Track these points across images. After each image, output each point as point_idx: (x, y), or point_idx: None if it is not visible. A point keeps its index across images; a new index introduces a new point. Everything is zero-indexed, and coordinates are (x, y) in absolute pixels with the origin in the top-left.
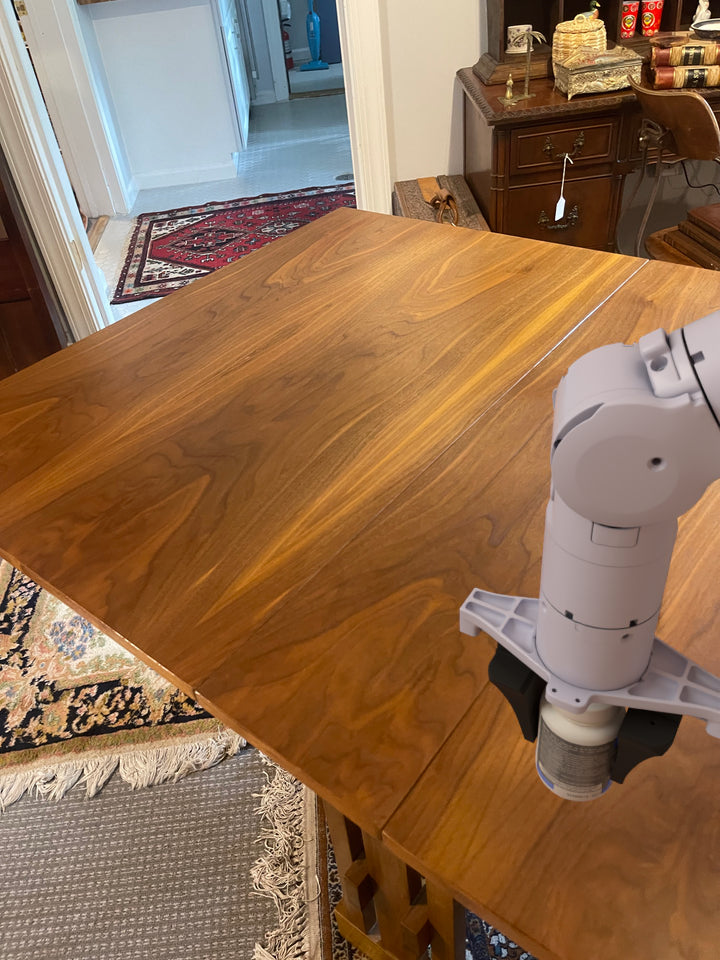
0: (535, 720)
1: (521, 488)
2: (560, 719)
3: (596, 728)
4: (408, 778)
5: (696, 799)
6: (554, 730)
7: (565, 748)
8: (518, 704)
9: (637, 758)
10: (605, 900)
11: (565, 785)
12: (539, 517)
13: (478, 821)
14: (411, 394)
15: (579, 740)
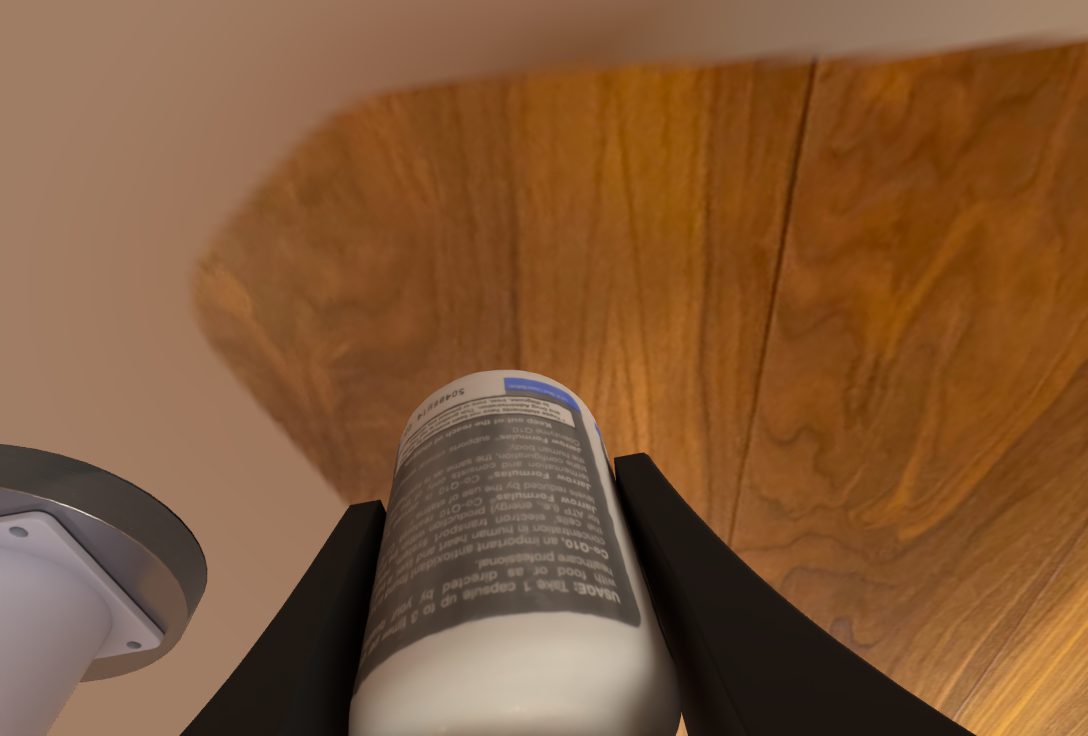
0: (646, 546)
1: None
2: (555, 698)
3: None
4: (809, 195)
5: (354, 483)
6: (555, 628)
7: (489, 566)
8: (754, 635)
9: (198, 733)
10: (349, 247)
11: (470, 412)
12: None
13: (633, 215)
14: (1059, 724)
15: (440, 657)
